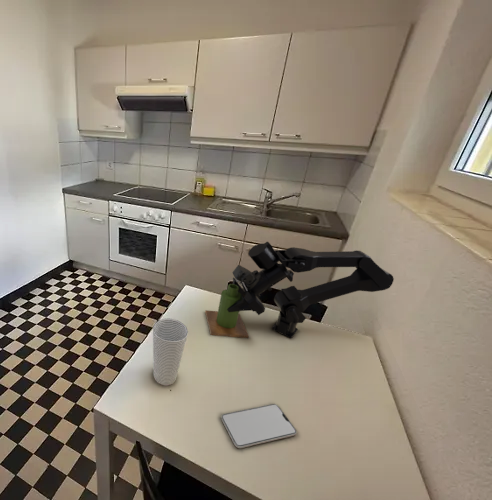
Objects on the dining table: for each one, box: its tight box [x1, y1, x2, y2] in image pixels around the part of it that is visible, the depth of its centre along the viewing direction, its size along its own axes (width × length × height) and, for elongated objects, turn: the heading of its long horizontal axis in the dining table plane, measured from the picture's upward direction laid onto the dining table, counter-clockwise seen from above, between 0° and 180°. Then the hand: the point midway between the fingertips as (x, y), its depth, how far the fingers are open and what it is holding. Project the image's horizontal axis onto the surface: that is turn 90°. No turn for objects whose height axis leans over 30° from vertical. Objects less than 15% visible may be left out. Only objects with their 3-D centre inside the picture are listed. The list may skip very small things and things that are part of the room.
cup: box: [152, 318, 189, 386], centre depth 70 cm, size 8×8×16 cm
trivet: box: [204, 310, 250, 339], centre depth 95 cm, size 12×12×1 cm
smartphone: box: [220, 403, 298, 449], centre depth 62 cm, size 7×1×15 cm
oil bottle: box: [217, 283, 241, 328], centre depth 92 cm, size 6×6×14 cm
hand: (225, 304), depth 92 cm, fingers closed on oil bottle, 6 cm apart
